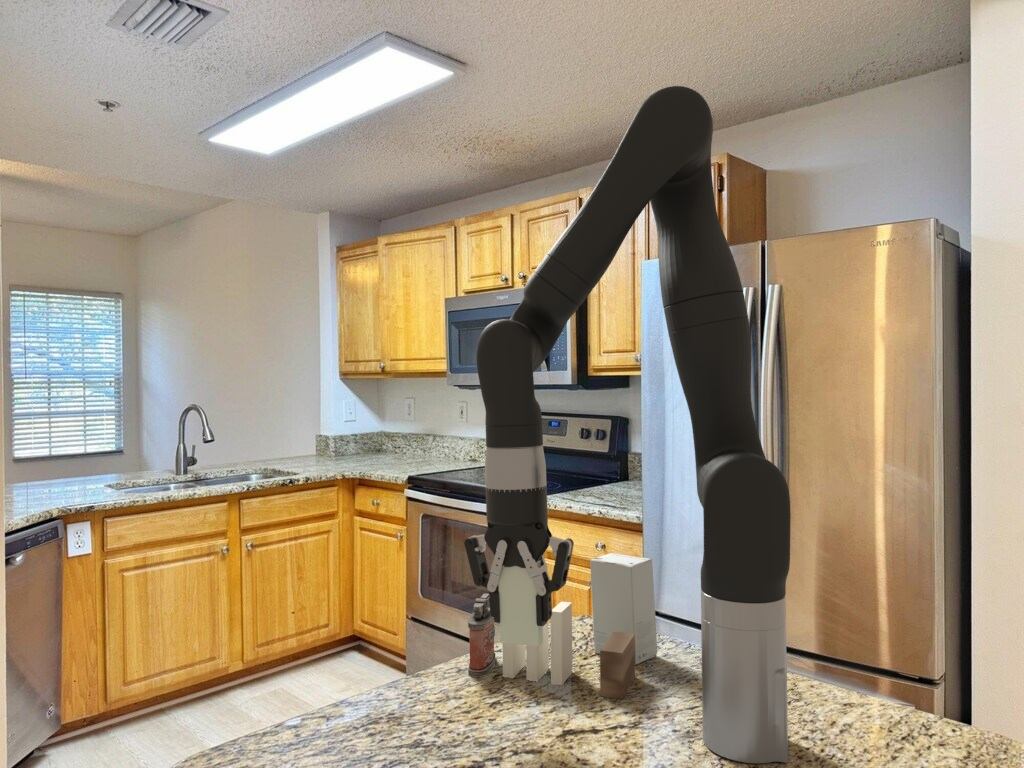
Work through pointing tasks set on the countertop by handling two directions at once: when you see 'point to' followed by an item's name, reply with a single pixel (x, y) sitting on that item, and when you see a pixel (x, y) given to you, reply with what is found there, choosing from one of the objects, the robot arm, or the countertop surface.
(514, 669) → the domino
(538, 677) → the domino
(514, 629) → the domino
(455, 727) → the countertop surface
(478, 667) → the lighter
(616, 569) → the skincare box
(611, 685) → the block
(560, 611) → the domino
